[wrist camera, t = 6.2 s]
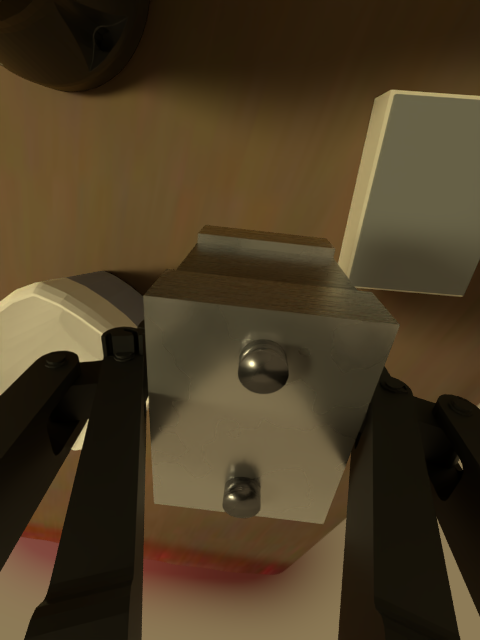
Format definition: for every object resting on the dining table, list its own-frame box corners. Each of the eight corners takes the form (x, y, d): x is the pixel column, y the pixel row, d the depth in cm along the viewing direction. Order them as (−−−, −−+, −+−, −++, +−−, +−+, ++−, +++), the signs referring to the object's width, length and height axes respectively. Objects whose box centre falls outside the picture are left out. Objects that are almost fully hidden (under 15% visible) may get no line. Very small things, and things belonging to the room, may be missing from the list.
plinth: (335, 274, 32) (344, 288, 28) (374, 98, 25) (393, 88, 21) (442, 283, 32) (465, 298, 28) (512, 108, 25) (554, 99, 21)
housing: (199, 358, 19) (148, 521, 10) (205, 224, 15) (133, 306, 7) (296, 369, 19) (326, 542, 10) (326, 238, 15) (411, 338, 7)
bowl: (22, 315, 37) (-66, 372, 27) (98, 229, 31) (23, 260, 21) (122, 394, 41) (79, 467, 31) (203, 330, 36) (182, 394, 26)
